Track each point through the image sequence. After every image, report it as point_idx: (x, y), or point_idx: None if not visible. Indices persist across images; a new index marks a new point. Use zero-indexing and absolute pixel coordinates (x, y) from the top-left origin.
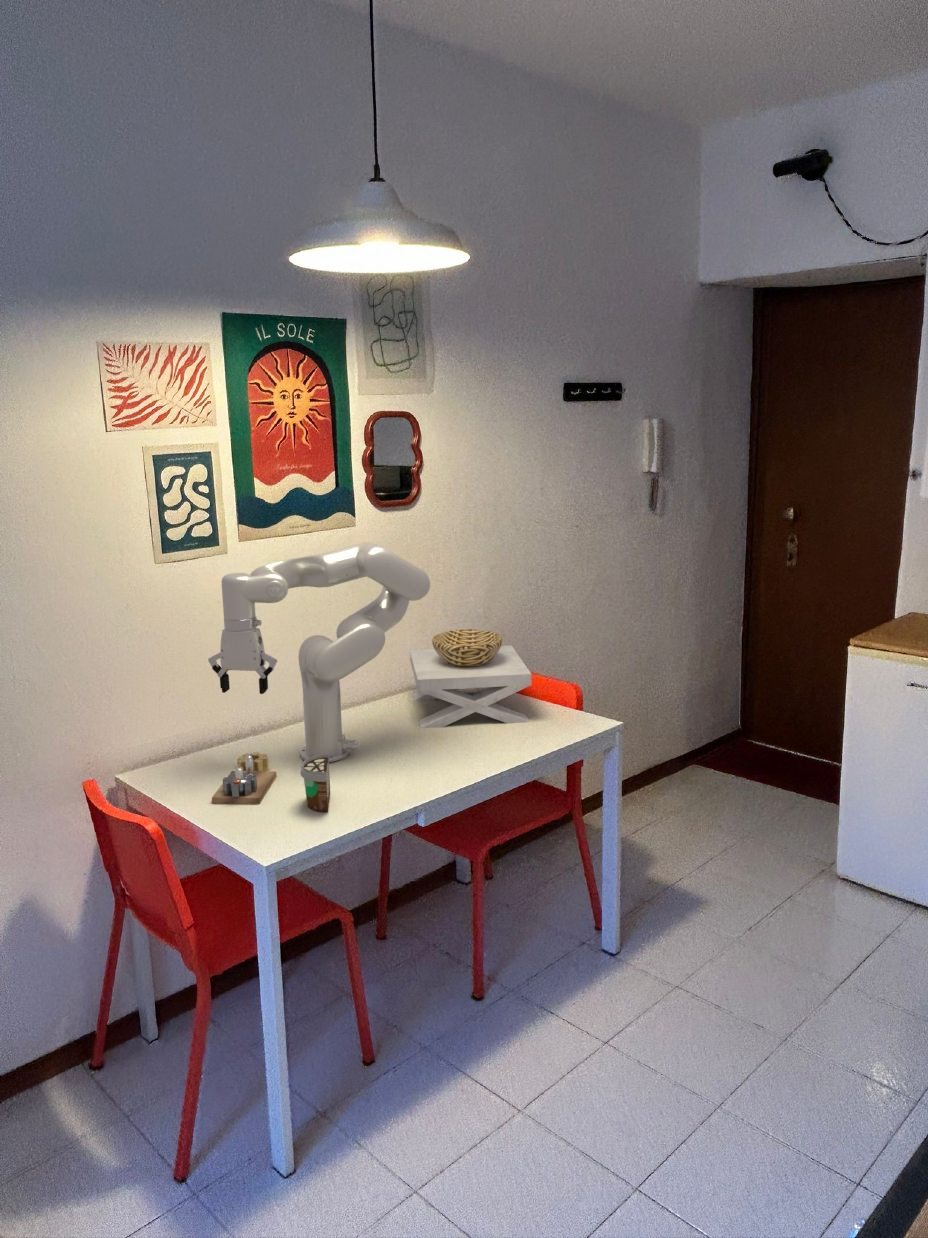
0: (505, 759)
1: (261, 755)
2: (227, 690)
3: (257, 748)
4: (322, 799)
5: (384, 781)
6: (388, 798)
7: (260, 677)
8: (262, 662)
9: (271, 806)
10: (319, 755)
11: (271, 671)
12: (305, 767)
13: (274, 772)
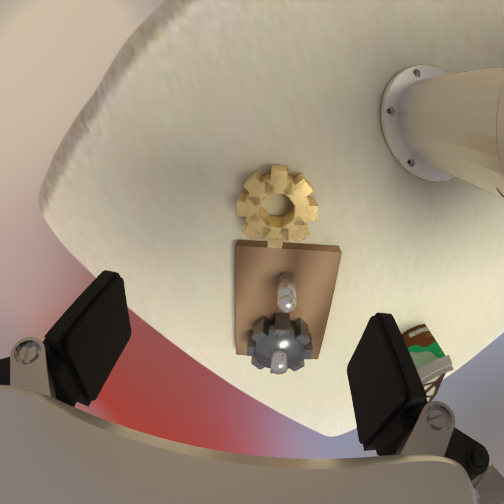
0: None
1: (299, 196)
2: (126, 305)
3: (252, 54)
4: None
5: (498, 273)
6: (483, 326)
7: (375, 443)
8: (451, 479)
9: (335, 356)
10: (437, 375)
11: (464, 444)
12: None
13: (338, 260)
